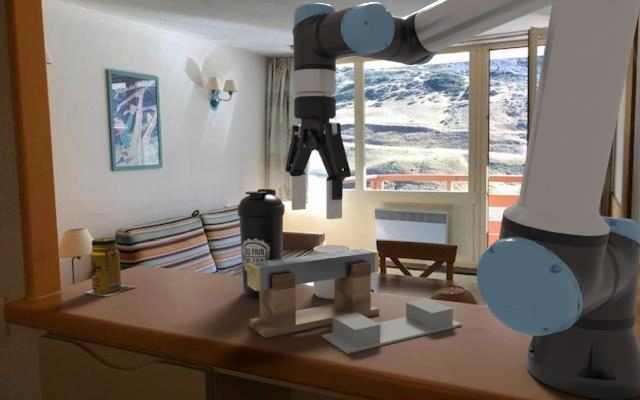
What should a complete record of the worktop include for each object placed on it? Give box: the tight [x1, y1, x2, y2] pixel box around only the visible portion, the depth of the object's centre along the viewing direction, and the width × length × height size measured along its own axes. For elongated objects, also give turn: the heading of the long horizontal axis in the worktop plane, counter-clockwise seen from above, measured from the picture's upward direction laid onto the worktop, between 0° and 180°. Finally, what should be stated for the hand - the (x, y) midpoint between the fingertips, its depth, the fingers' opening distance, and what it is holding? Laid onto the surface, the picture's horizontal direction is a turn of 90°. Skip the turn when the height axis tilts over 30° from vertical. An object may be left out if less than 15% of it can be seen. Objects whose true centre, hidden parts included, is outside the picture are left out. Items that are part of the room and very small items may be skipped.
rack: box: [249, 262, 380, 339], centre depth 95 cm, size 7×24×10 cm, turn 119°
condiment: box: [84, 237, 137, 297], centre depth 116 cm, size 7×8×12 cm
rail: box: [247, 248, 380, 291], centre depth 95 cm, size 26×4×4 cm, turn 119°
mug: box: [312, 244, 352, 300], centre depth 111 cm, size 12×8×10 cm
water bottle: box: [237, 188, 286, 300], centre depth 112 cm, size 10×10×23 cm
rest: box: [321, 298, 463, 355], centre depth 90 cm, size 8×24×3 cm, turn 119°
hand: (315, 213), depth 94 cm, fingers open, 13 cm apart
